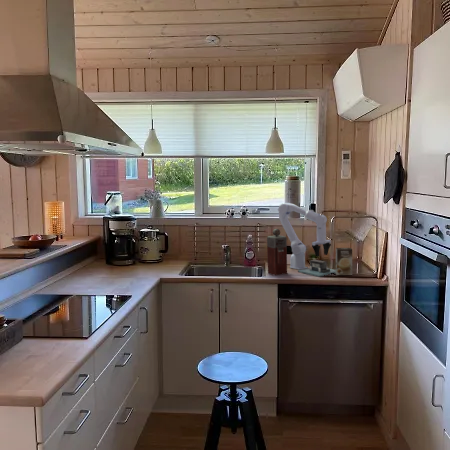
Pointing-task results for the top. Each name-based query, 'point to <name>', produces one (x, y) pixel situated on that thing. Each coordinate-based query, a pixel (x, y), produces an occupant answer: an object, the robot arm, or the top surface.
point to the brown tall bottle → (277, 253)
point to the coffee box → (343, 261)
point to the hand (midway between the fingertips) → (321, 255)
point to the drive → (318, 265)
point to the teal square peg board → (316, 273)
